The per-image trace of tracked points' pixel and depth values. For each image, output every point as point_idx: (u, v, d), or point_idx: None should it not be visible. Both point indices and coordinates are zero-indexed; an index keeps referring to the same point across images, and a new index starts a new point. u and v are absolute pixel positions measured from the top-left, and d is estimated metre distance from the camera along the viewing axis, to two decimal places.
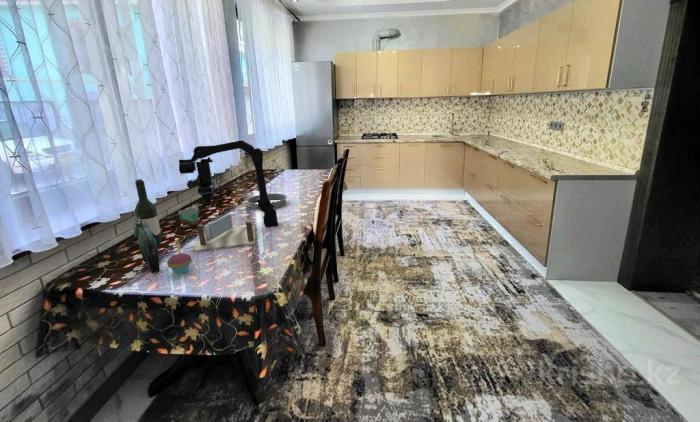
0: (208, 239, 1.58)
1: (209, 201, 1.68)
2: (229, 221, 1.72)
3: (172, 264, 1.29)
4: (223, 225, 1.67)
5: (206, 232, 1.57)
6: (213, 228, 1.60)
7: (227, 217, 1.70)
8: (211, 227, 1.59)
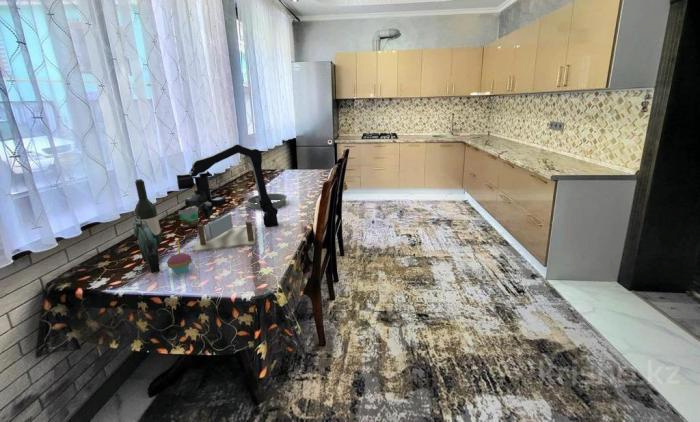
0: (208, 239, 1.58)
1: (210, 213, 1.68)
2: (229, 221, 1.72)
3: (172, 264, 1.29)
4: (223, 225, 1.67)
5: (206, 232, 1.57)
6: (213, 228, 1.60)
7: (227, 217, 1.70)
8: (211, 227, 1.59)
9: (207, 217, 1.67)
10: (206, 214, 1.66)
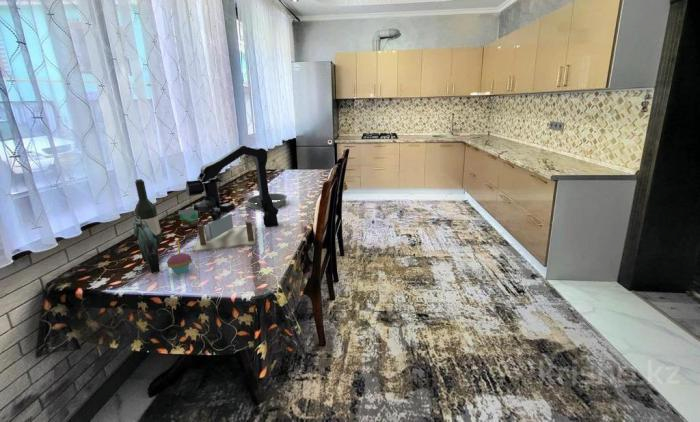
0: (208, 239, 1.58)
1: None
2: (229, 221, 1.71)
3: (172, 264, 1.29)
4: (223, 225, 1.67)
5: (206, 232, 1.57)
6: (213, 228, 1.60)
7: (227, 217, 1.70)
8: (211, 227, 1.59)
9: None
10: None
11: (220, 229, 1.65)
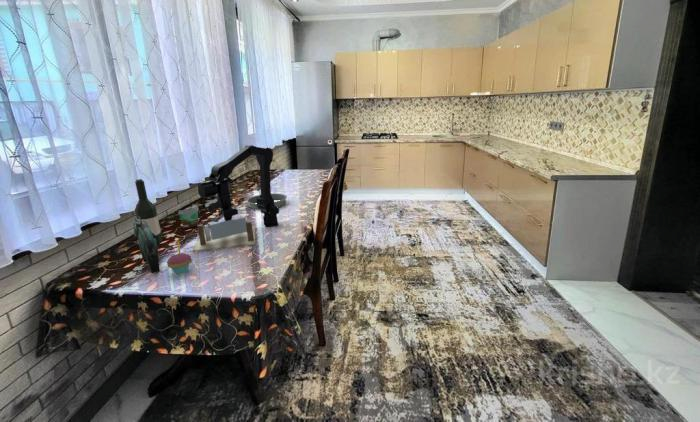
0: (207, 239, 1.58)
1: None
2: (242, 224, 1.66)
3: (172, 264, 1.29)
4: (231, 228, 1.63)
5: (205, 232, 1.57)
6: (215, 229, 1.59)
7: (239, 220, 1.64)
8: (212, 228, 1.58)
9: None
10: (225, 220, 1.64)
11: (226, 231, 1.62)
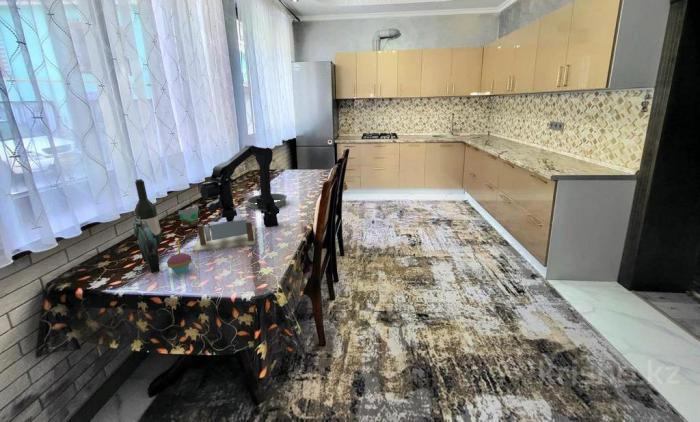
0: (206, 239, 1.58)
1: None
2: (243, 226, 1.63)
3: (172, 264, 1.29)
4: (232, 229, 1.61)
5: (205, 232, 1.57)
6: (215, 230, 1.58)
7: (240, 222, 1.62)
8: (212, 228, 1.57)
9: None
10: (227, 221, 1.62)
11: (226, 232, 1.60)
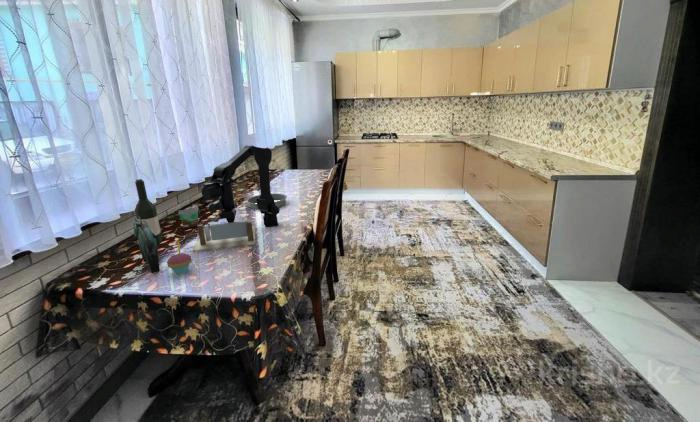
0: (206, 239, 1.58)
1: None
2: (243, 228, 1.60)
3: (172, 264, 1.29)
4: (232, 230, 1.59)
5: (205, 232, 1.57)
6: (214, 230, 1.57)
7: (240, 224, 1.59)
8: (211, 229, 1.57)
9: None
10: None
11: (226, 233, 1.59)
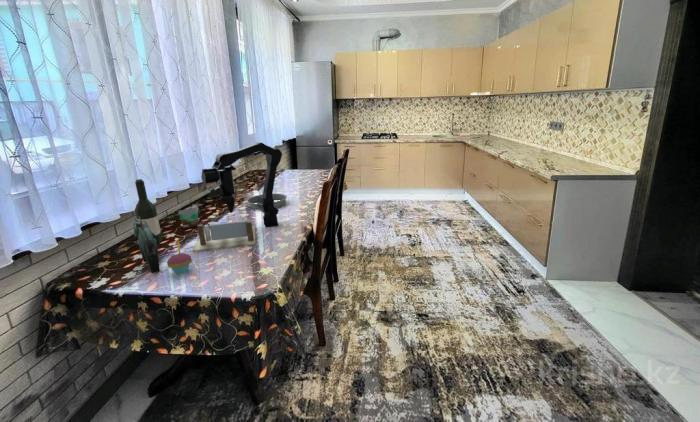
0: (206, 239, 1.58)
1: (232, 208, 1.68)
2: (243, 228, 1.60)
3: (172, 264, 1.29)
4: (232, 230, 1.59)
5: (205, 232, 1.57)
6: (214, 230, 1.57)
7: (240, 224, 1.59)
8: (211, 229, 1.57)
9: None
10: None
11: (226, 233, 1.59)
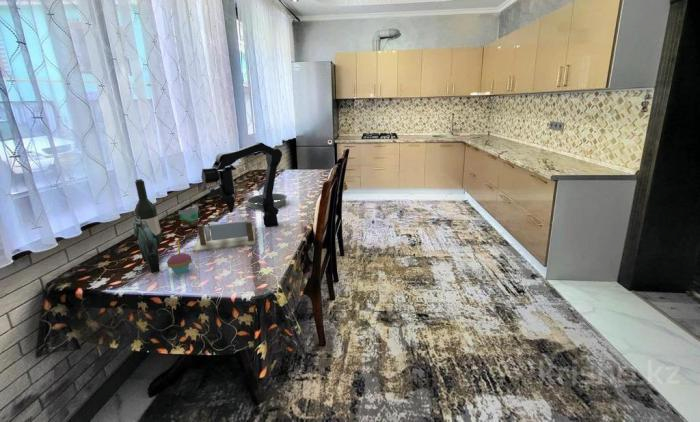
0: (206, 239, 1.58)
1: (232, 208, 1.68)
2: (243, 228, 1.60)
3: (172, 264, 1.29)
4: (232, 230, 1.59)
5: (205, 232, 1.57)
6: (214, 230, 1.57)
7: (240, 224, 1.59)
8: (211, 229, 1.57)
9: (229, 210, 1.69)
10: None
11: (226, 233, 1.59)
